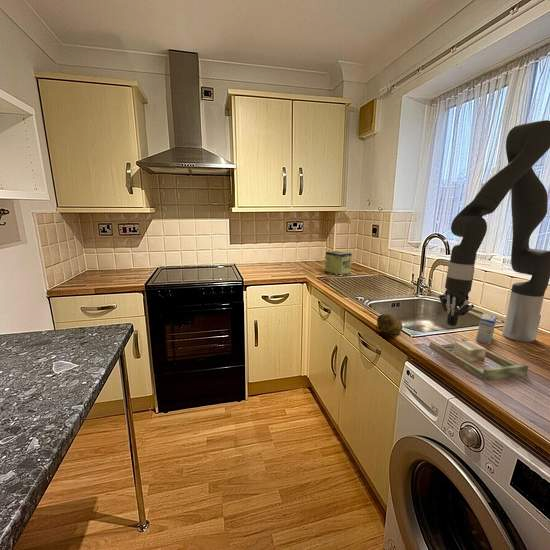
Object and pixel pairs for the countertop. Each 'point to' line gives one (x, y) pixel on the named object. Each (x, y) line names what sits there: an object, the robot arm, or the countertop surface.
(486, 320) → the medicine box
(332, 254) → the protein box
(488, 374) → the shallow green tray
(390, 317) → the potato
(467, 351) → the cream block
